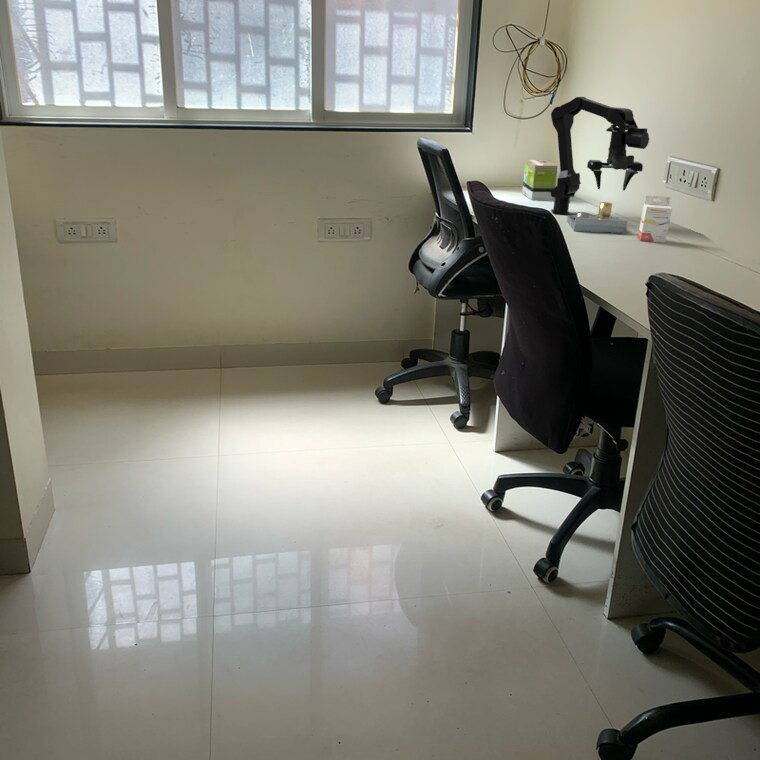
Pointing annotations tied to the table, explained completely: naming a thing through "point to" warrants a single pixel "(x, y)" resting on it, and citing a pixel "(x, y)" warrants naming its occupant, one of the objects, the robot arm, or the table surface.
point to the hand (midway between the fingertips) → (611, 189)
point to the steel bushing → (583, 215)
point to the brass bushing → (605, 209)
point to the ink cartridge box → (655, 219)
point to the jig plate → (597, 224)
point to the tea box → (539, 179)
